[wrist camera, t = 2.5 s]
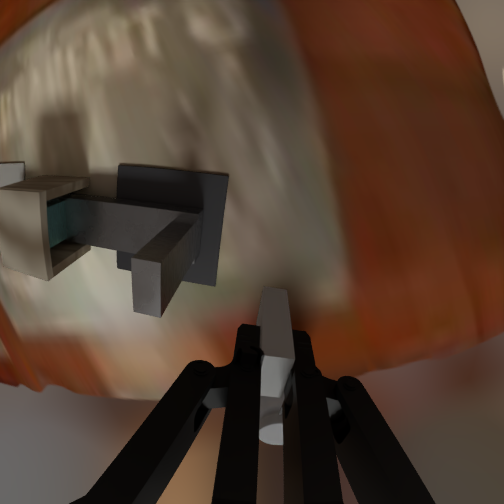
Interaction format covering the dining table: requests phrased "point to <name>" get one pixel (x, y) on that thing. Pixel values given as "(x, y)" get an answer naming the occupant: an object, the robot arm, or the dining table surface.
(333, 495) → the robot arm
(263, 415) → the pill bottle
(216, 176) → the grey shoe shape
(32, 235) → the tunnel
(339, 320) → the dining table surface
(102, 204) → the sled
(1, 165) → the mat
